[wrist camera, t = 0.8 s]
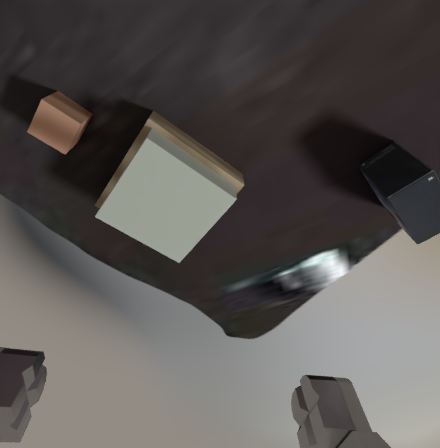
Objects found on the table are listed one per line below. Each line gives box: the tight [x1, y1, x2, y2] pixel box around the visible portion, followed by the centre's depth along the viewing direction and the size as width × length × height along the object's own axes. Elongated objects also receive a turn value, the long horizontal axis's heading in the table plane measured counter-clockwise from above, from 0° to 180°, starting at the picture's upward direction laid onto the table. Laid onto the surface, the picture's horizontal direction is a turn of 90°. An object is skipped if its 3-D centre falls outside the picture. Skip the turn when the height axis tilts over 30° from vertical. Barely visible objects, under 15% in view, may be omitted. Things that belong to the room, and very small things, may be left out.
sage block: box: [95, 128, 237, 263], centre depth 45 cm, size 14×14×4 cm
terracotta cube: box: [27, 91, 93, 154], centre depth 42 cm, size 5×5×5 cm
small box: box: [359, 142, 440, 244], centre depth 46 cm, size 11×6×10 cm, turn 41°
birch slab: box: [95, 111, 244, 208], centre depth 49 cm, size 16×16×4 cm
